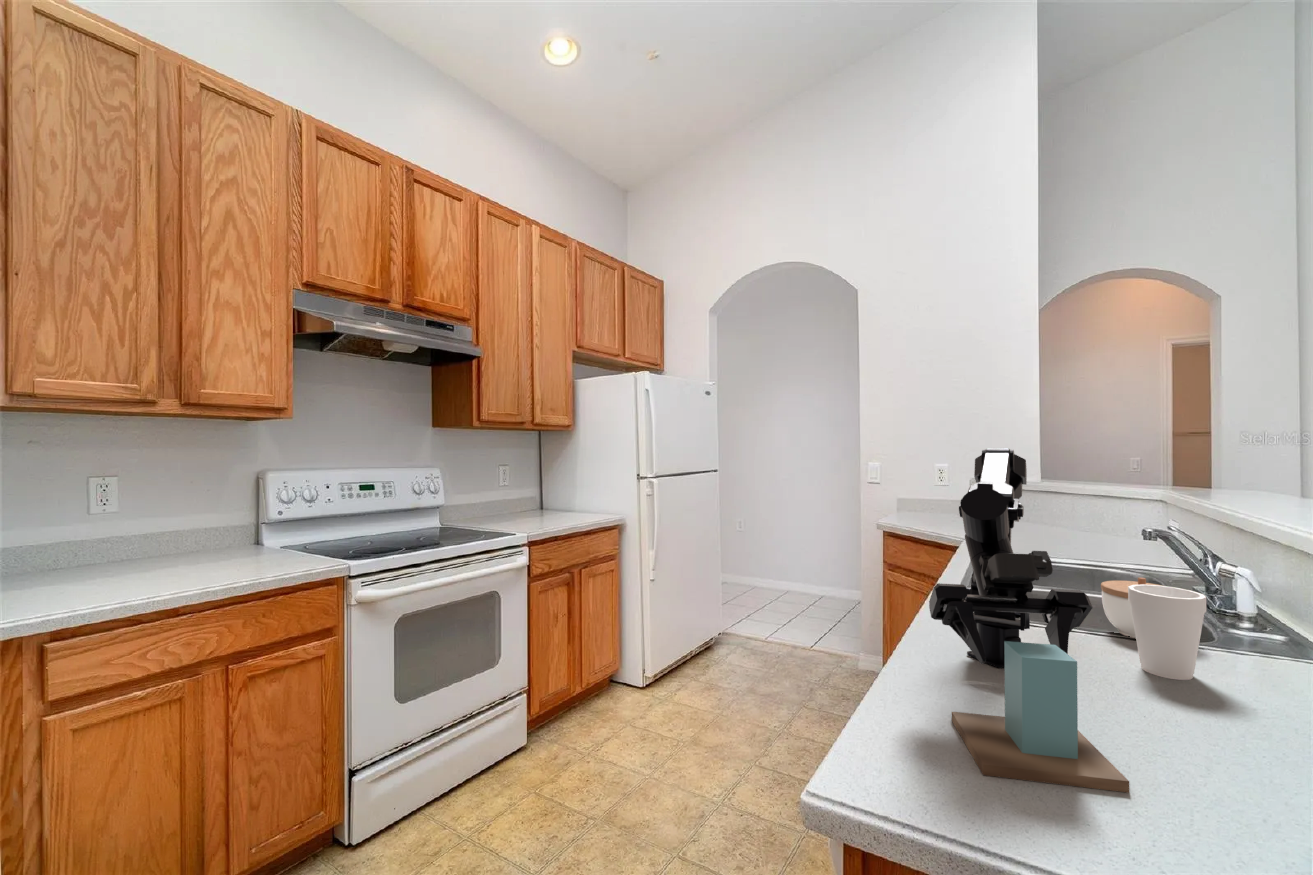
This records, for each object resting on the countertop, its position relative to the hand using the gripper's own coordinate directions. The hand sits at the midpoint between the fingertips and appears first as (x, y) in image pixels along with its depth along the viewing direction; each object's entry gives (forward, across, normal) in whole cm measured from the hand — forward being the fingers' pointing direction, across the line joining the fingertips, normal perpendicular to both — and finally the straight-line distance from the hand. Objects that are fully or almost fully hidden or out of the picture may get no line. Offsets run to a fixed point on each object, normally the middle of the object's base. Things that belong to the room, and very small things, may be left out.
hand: (1023, 665), depth 74 cm
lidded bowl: (-27, +37, +40) cm, 61 cm away
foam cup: (-13, +30, +26) cm, 42 cm away
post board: (+10, 0, +2) cm, 10 cm away
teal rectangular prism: (+9, 0, +1) cm, 9 cm away
